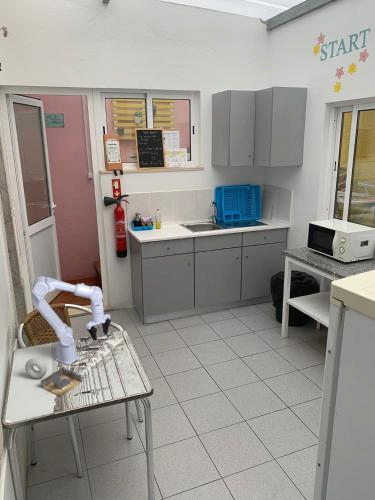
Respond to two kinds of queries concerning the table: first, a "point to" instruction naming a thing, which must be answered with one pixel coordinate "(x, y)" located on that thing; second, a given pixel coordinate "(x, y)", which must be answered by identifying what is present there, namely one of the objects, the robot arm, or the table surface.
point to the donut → (32, 371)
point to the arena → (63, 373)
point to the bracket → (59, 382)
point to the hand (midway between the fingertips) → (100, 336)
